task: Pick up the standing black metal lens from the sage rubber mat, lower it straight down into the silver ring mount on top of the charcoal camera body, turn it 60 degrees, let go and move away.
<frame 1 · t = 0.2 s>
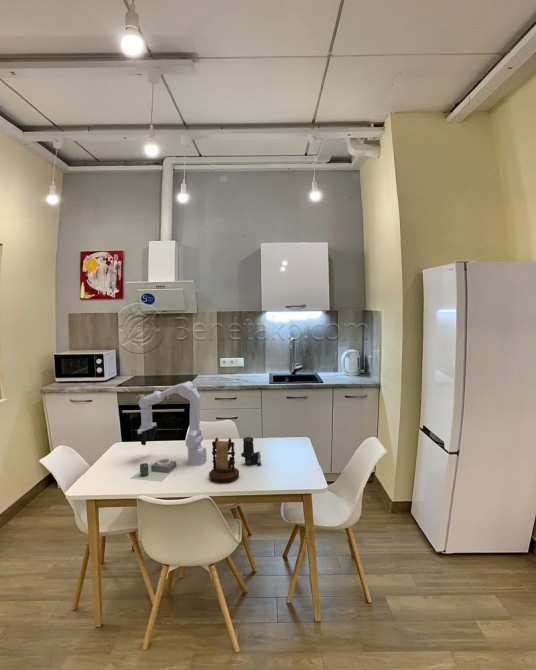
hand: (147, 442, 229), 10 cm above the table, tool pointing down, fingers open, 7 cm apart
lens: (144, 475, 208), resting on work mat
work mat: (155, 472, 212), on the table
scope: (250, 464, 221), on the table
scroll: (224, 477, 205), on the table
camera body: (164, 469, 216), resting on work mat
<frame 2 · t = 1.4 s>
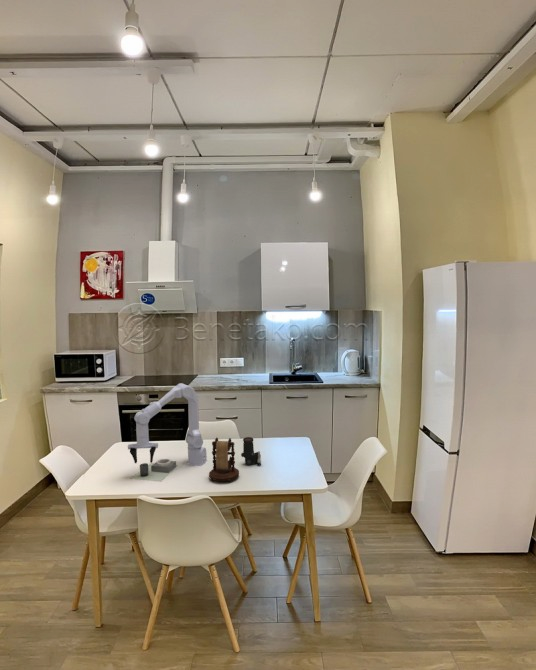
hand: (143, 462, 208), 7 cm above the table, tool pointing down, fingers open, 7 cm apart
nothing on the table moved.
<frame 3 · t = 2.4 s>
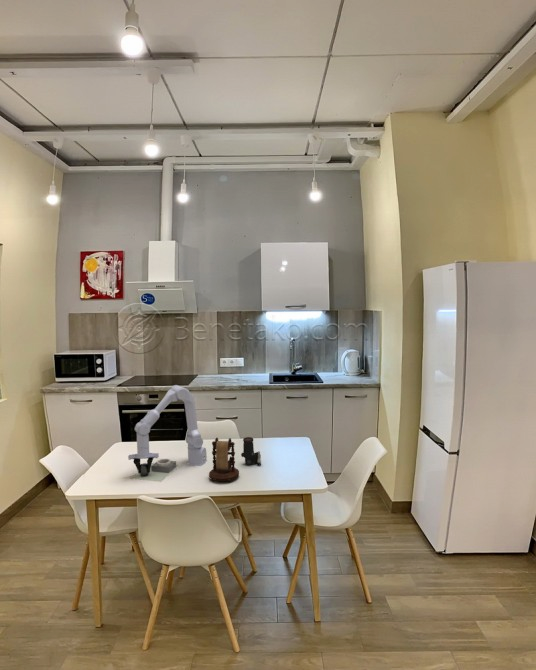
hand: (144, 472, 208), 2 cm above the table, tool pointing down, fingers closed on lens, 4 cm apart
lens: (144, 475, 208), resting on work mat, touching gripper
everything else where it was.
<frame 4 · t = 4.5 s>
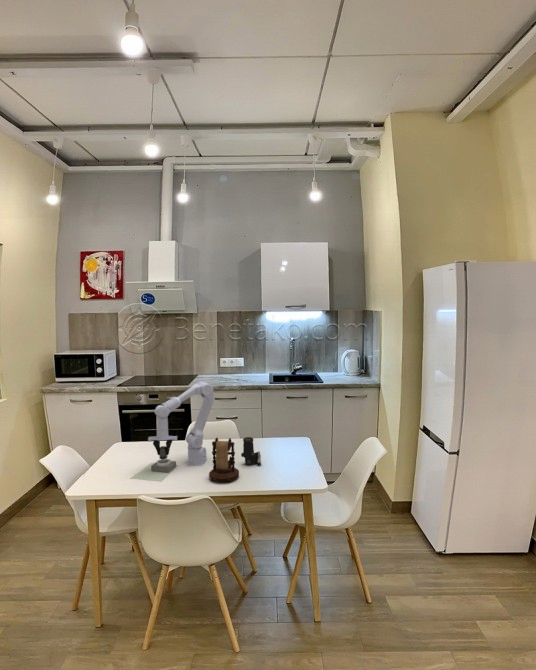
hand: (163, 454, 215), 8 cm above the table, tool pointing down, fingers closed on lens, 4 cm apart
lens: (163, 457, 215), point 7 cm above the table, touching gripper
everything else where it was.
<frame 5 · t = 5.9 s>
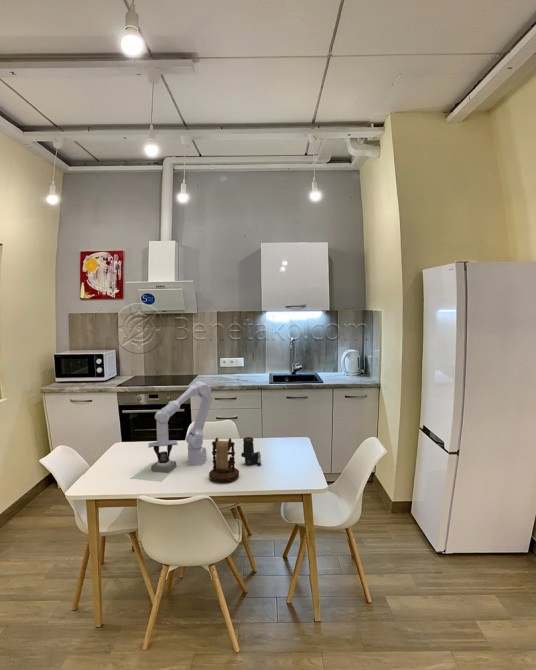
hand: (163, 459, 215), 6 cm above the table, tool pointing down, fingers closed on lens, 4 cm apart
lens: (163, 462, 215), point 4 cm above the table, touching gripper
everything else where it was.
when the fingers open (6 cm above the table, at t = 6.8 s): lens stays where it is, resting on camera body.
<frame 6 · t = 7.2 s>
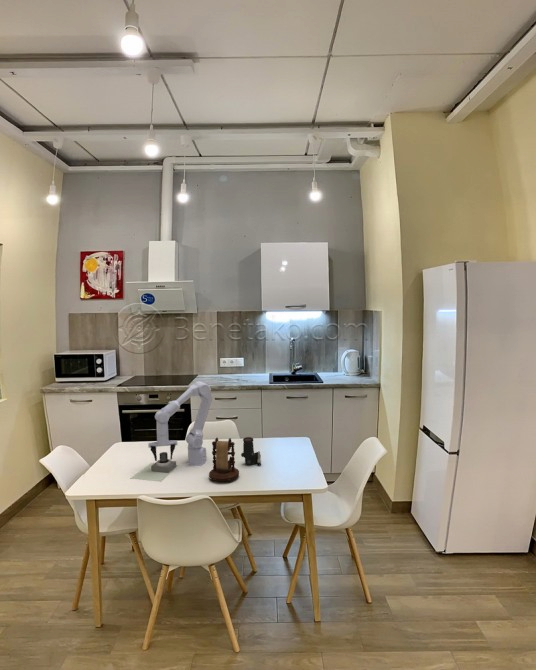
hand: (163, 459, 215), 6 cm above the table, tool pointing down, fingers open, 7 cm apart
lens: (163, 463, 215), point 4 cm above the table, touching camera body
everything else where it was.
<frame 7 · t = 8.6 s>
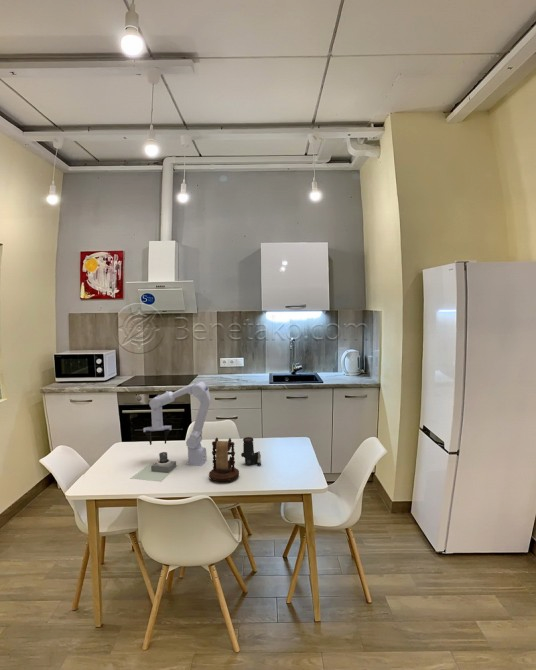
hand: (158, 443, 225), 10 cm above the table, tool pointing down, fingers open, 7 cm apart
nothing on the table moved.
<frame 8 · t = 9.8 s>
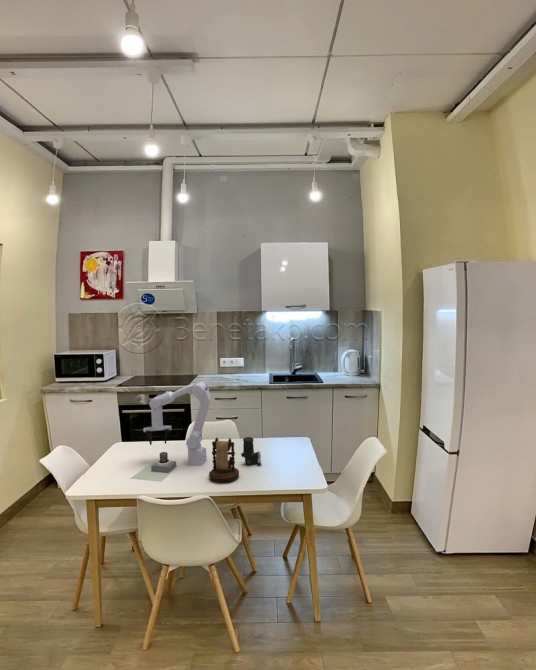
hand: (158, 443, 225), 10 cm above the table, tool pointing down, fingers open, 7 cm apart
nothing on the table moved.
at the end: lens 0.1 cm off-centre on the camera body, point 3.0 cm above the camera body's base; lens tilted 1°; the gripper is holding nothing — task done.
